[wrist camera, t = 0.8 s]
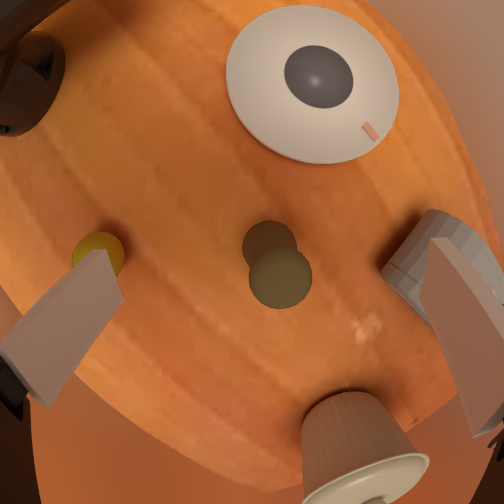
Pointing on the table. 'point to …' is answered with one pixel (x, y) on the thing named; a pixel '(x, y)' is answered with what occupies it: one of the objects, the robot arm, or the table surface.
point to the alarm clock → (416, 251)
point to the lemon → (100, 242)
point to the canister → (356, 453)
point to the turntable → (312, 84)
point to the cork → (276, 265)
